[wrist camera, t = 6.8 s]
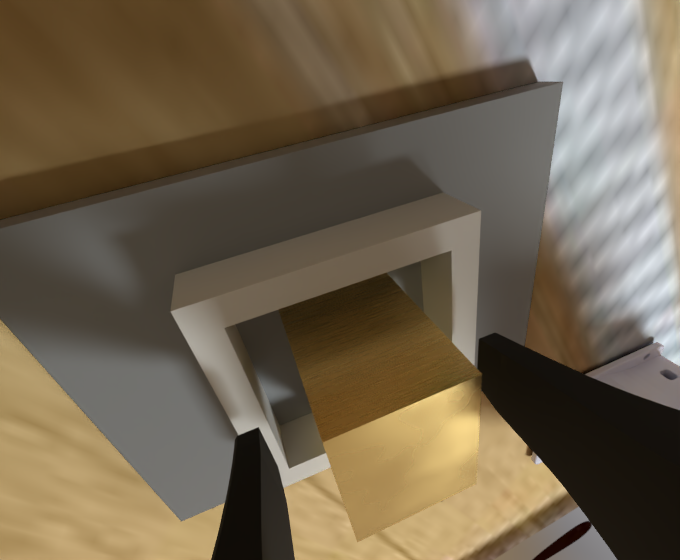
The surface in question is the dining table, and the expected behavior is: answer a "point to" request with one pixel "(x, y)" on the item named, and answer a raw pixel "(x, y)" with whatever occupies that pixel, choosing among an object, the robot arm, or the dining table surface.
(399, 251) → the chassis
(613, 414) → the robot arm
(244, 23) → the dining table surface
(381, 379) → the tan rectangular block
